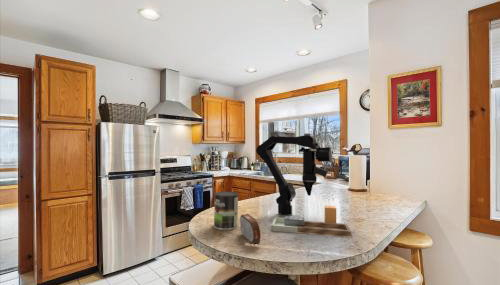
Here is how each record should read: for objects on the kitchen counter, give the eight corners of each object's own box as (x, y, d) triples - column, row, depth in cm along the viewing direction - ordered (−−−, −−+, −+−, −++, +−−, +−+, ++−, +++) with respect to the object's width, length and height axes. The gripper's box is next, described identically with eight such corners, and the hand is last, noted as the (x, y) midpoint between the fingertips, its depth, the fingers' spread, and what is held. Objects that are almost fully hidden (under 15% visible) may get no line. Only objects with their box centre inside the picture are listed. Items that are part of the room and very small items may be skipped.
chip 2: (294, 229, 96) (294, 219, 96) (294, 226, 99) (294, 216, 100) (304, 230, 95) (304, 220, 95) (304, 226, 99) (304, 217, 99)
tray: (271, 232, 94) (271, 225, 94) (274, 223, 105) (274, 217, 105) (297, 234, 92) (297, 227, 92) (298, 225, 103) (298, 218, 103)
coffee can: (224, 232, 94) (225, 196, 94) (209, 226, 101) (209, 193, 101) (243, 226, 101) (243, 193, 102) (227, 221, 108) (227, 190, 109)
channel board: (296, 234, 92) (296, 228, 92) (297, 225, 103) (297, 219, 103) (352, 239, 87) (352, 232, 87) (346, 229, 99) (346, 223, 99)
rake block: (325, 226, 102) (325, 207, 102) (324, 223, 107) (324, 205, 107) (336, 227, 101) (336, 208, 101) (335, 223, 106) (335, 205, 106)
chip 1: (284, 228, 96) (284, 218, 97) (285, 225, 100) (285, 216, 100) (294, 229, 96) (294, 219, 96) (294, 226, 99) (294, 216, 100)
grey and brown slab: (261, 246, 80) (261, 221, 80) (252, 248, 79) (252, 222, 79) (246, 232, 94) (246, 211, 94) (238, 233, 93) (238, 211, 93)
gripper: (328, 162, 103) (328, 198, 102) (324, 160, 121) (324, 191, 120) (302, 162, 105) (302, 197, 105) (302, 160, 123) (302, 190, 123)
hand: (309, 193), depth 113 cm, fingers open, 9 cm apart
